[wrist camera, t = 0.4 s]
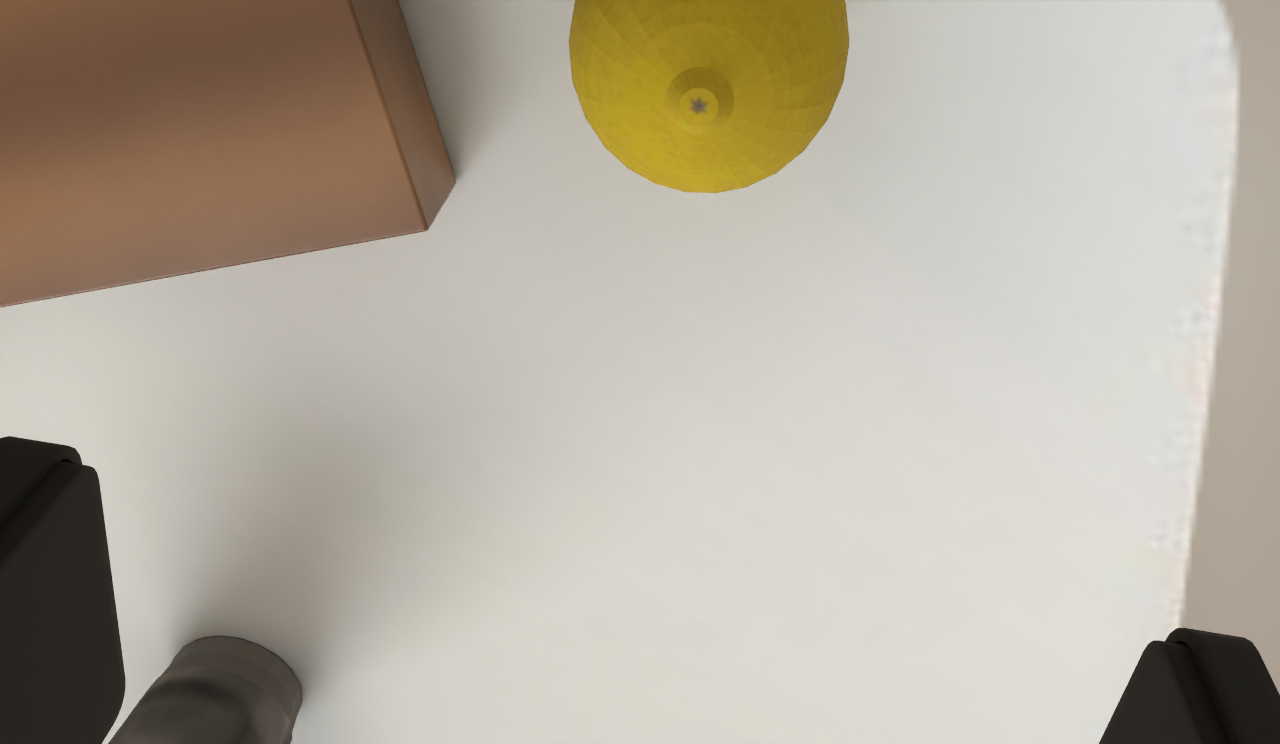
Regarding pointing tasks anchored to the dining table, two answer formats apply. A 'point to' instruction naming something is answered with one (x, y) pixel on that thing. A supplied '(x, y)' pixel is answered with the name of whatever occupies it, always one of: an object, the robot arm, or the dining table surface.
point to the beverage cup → (217, 698)
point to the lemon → (707, 84)
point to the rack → (205, 137)
